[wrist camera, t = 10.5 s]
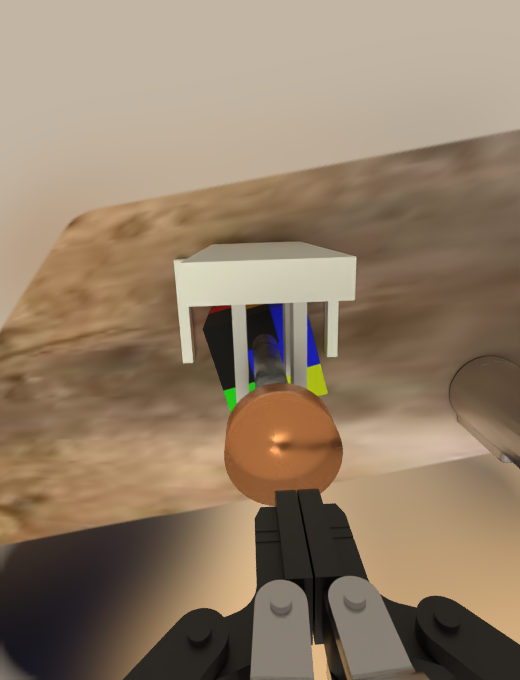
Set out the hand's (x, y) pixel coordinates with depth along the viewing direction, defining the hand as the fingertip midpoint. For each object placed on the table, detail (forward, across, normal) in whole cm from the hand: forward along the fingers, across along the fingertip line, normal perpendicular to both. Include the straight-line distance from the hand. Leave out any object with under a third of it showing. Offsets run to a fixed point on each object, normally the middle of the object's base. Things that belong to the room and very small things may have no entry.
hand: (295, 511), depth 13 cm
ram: (+19, 0, 0) cm, 19 cm away
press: (+35, 0, 0) cm, 35 cm away
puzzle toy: (+36, 0, +4) cm, 36 cm away
